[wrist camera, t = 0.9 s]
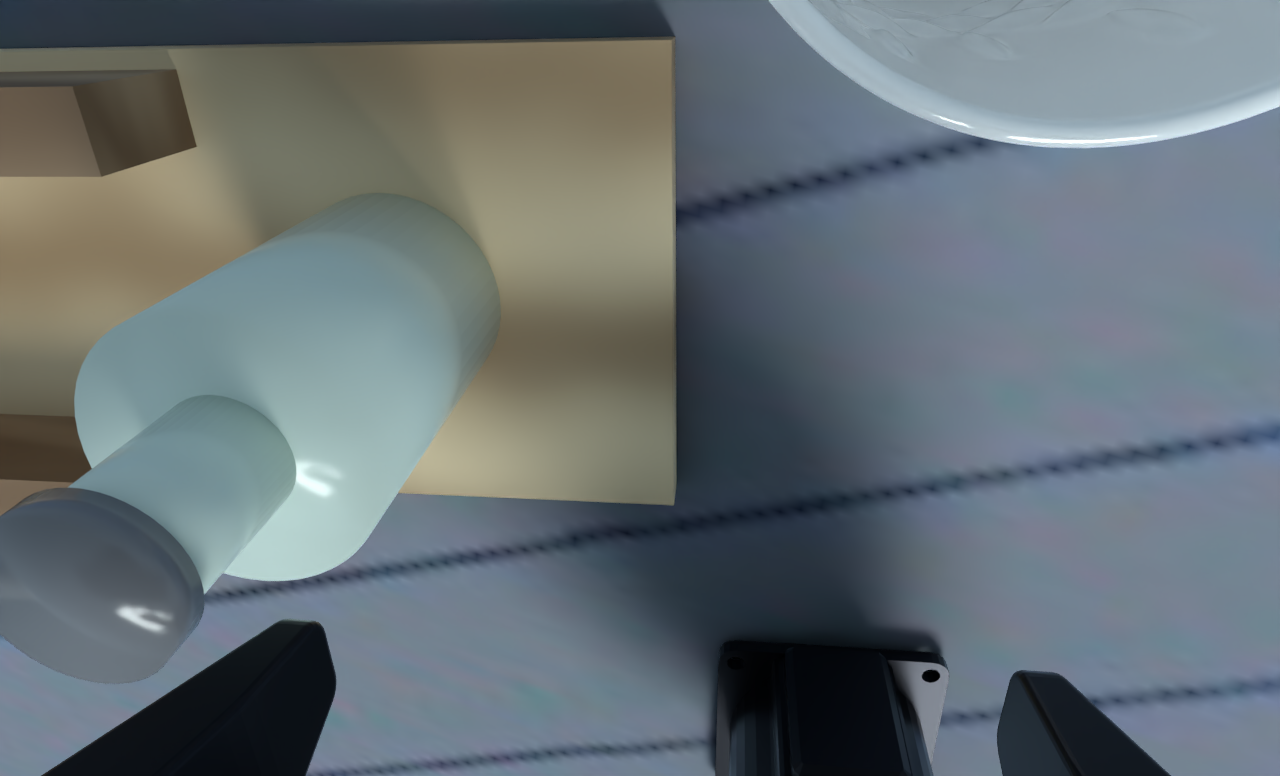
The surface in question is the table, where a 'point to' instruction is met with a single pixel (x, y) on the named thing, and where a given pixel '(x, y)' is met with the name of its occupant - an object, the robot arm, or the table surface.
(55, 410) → the cradle board
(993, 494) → the table surface
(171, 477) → the bottle
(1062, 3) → the white cup
